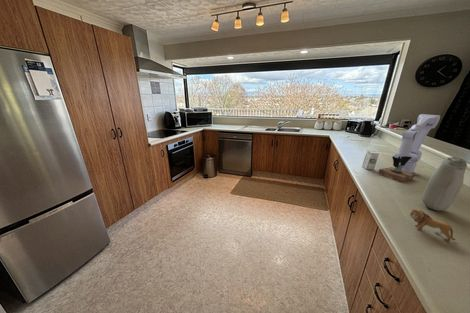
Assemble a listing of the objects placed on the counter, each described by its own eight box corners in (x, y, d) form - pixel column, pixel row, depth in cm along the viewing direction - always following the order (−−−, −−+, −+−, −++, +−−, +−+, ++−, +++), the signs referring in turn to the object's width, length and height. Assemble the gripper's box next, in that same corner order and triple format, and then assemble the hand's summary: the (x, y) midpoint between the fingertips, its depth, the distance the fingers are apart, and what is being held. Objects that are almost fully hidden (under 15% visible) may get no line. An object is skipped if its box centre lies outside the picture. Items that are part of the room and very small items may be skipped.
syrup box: (369, 167, 140) (374, 150, 135) (373, 170, 134) (379, 152, 129) (361, 166, 140) (366, 150, 135) (366, 169, 135) (371, 152, 130)
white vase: (451, 216, 83) (480, 163, 73) (422, 209, 88) (446, 158, 78) (442, 206, 91) (467, 157, 81) (415, 200, 96) (437, 153, 86)
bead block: (390, 171, 133) (391, 167, 132) (412, 179, 121) (414, 174, 119) (378, 173, 129) (379, 169, 127) (400, 181, 116) (401, 177, 115)
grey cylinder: (393, 174, 127) (398, 163, 124) (400, 177, 123) (404, 165, 120) (390, 175, 126) (394, 164, 122) (396, 177, 122) (401, 166, 119)
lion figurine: (405, 227, 75) (413, 210, 72) (404, 221, 79) (411, 205, 76) (456, 245, 67) (467, 226, 64) (452, 236, 71) (462, 219, 68)
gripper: (406, 150, 111) (398, 169, 116) (419, 148, 116) (411, 167, 121) (393, 147, 118) (387, 165, 122) (406, 145, 122) (400, 163, 127)
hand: (398, 166), depth 122 cm, fingers open, 7 cm apart
